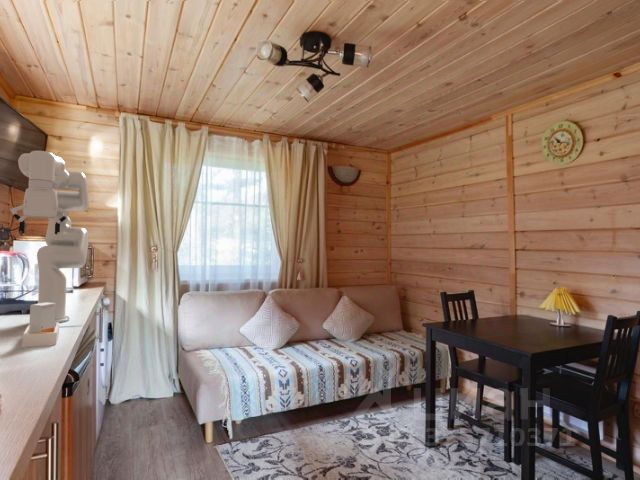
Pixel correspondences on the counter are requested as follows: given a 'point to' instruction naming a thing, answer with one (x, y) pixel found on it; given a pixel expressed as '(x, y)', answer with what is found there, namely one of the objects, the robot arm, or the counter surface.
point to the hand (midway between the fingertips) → (40, 233)
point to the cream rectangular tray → (40, 338)
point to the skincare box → (42, 318)
